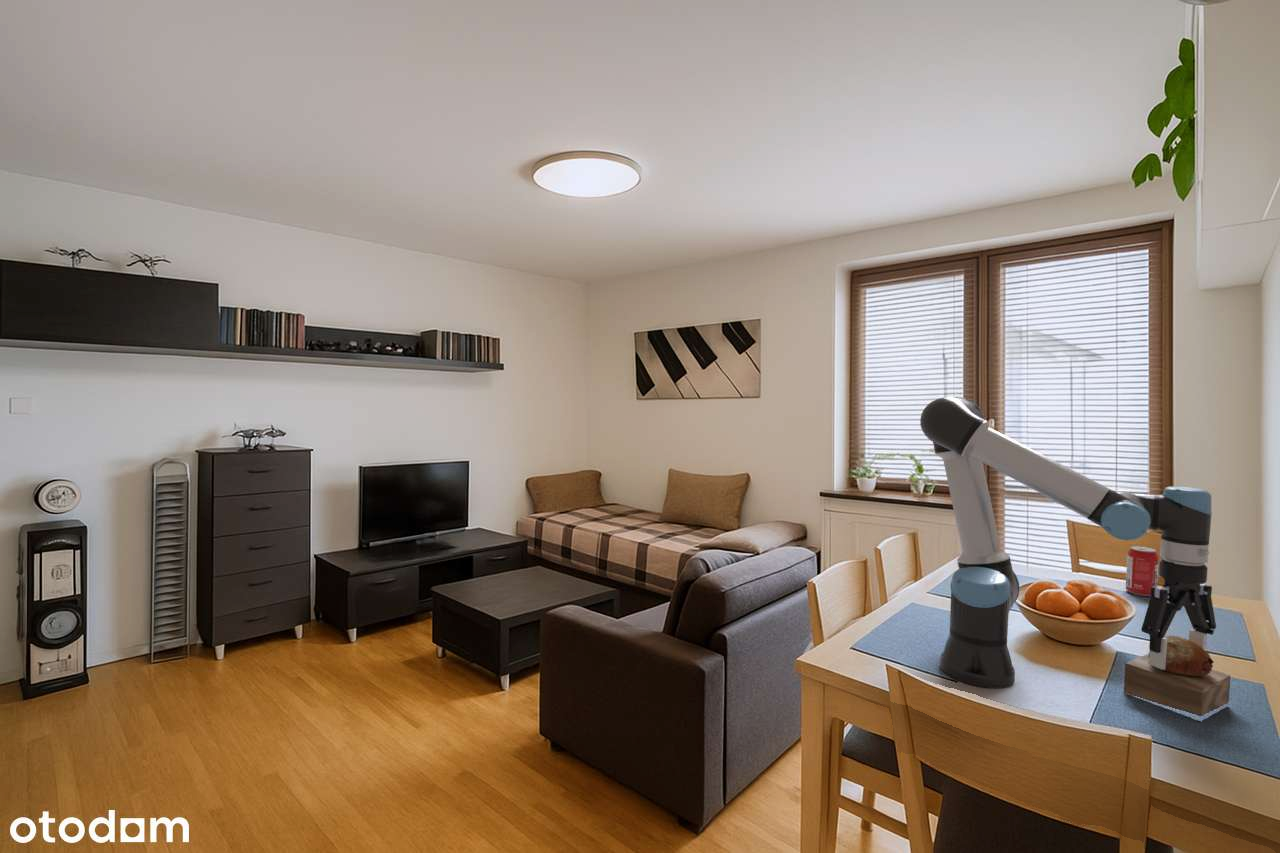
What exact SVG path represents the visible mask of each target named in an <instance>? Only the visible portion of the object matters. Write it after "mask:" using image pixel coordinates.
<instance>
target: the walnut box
mask: <svg viewBox="0 0 1280 853" xmlns="http://www.w3.org/2000/svg"><path fill="white" fill-rule="evenodd" d="M1148 655H1149V653H1147V654H1144V655H1142V656H1140V657H1136V658H1133V659H1132V660H1130V661H1127V662H1125V664H1124V678H1123V694H1124V693H1127V694H1130V695H1133V696H1137V697H1140V698H1143V699H1146V700H1149V701H1152V702H1156V703H1158V704H1162V705H1165V706H1169V707H1172V708H1175V709H1179V710H1183V711H1186V712H1189V713H1192V714H1196V715H1198V716H1203V715H1204V714H1206V713H1209V712H1210V711H1213V710H1214V709H1217V708H1219V707H1220V706H1223V705H1224V704H1227V703H1228V702H1229V701H1230V688H1231V677H1232V676H1231V674H1227V673H1224V672H1222V671H1218V670H1215V669H1212V670H1211V671H1210V673H1209V674H1207V675H1205V676H1191V675H1185V674H1179V673H1174V672H1171V671H1168V670H1165V669H1164V670H1162V669H1160V668H1157V667H1155V666H1153V665H1150V664H1149V657H1148ZM1127 694H1126V695H1127ZM1229 703H1230V702H1229Z"/></svg>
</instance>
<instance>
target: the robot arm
mask: <svg viewBox="0 0 1280 853" xmlns="http://www.w3.org/2000/svg"><path fill="white" fill-rule="evenodd" d="M919 425H920V428H921V430H922V433H923V434H924V436H925V437H926V438H927V439H928V440H929V441H931V442H932V444H933V449H934V452H935V455H936V456H937V457H939V458H941V459H942V461H943V465H944V470H945V474H946V479H947V484H948V485H947V486H948V490H949V495H950V500H951V503H952V509H953V513H954V518H955V524H956V528H957V532H958V539H959V543H960V548H961V554H960V555H959V556H958V558H957V560H956V561H957V566H958V569H957V570H955V571H954V572H953V574H952V577H951V581H950V590H951V591H950V612H949V613H950V614H949V635H948V638H947V640H946V643H945V646H944V649H943V651H942V652H941V654H940V657H939V659H940V660H939V667H940V670H942V672H943V673H944V674H946V675H947V676H949V677H951V679H955V680H957V681H959V682H962V683H965V684H968V685H971V686H976V687H980V688H981V687H982V688H986V689H987V688H988V689H1001V688H1007V687H1011V686H1012V685H1014V683H1015V680H1016V679H1015V677H1016V676H1015V675H1016V670H1015V667H1014V665H1013V662H1012V658H1011V655H1010V651H1009V648H1008V634H1009V631H1008V629H1009V615H1010V611H1011V610H1012V607H1013V606H1014V604H1015V603H1016V602H1017V600H1018V598H1019V594H1020V593H1019V592H1020V582H1019V579H1018V577H1017V575H1016V573H1015V571H1014V570H1013V565H1012V561H1011V557H1010V555H1009V554H1008V553H1006V552H1005V551H1003V549H1002V548H1001V543H1000V537H999V534H998V528H997V524H996V520H995V514H994V509H993V505H992V501H991V495H990V491H989V487H988V482H987V477H986V473H985V466H984V464H985V465H987V466H989V467H991V468H992V469H994V470H997V471H998V472H999V473H1002V474H1003V475H1005V476H1007V477H1009V478H1011V479H1013V480H1014V481H1017V482H1019V483H1021V484H1022V485H1024V486H1026V487H1027V488H1030V489H1032V490H1034V491H1035V492H1037V493H1039V494H1041V495H1043V496H1044V497H1046V498H1048V499H1050V500H1052V501H1053V502H1056V503H1058V504H1059V505H1061V506H1063V507H1064V508H1067V509H1069V510H1071V511H1072V512H1075V513H1076V514H1078V515H1080V516H1082V517H1083V518H1085V519H1087V520H1089V521H1090V522H1092V523H1094V524H1096V525H1098V526H1099V527H1101V528H1102V529H1104V530H1105V532H1106V533H1108V534H1109V535H1110V536H1112V537H1113V538H1115V539H1118V540H1121V541H1123V540H1124V541H1133V540H1137V539H1139V538H1140V539H1141V537H1143V536H1144V535H1146V534H1147V532H1148V531H1149V530H1153V531H1161V536H1160V546H1159V548H1160V549H1159V556H1160V557H1161V559H1159V562H1158V575H1159V576H1160V577H1161V578H1162V579H1163V580H1164V582H1163V585H1162V587H1159V586H1157V587H1154V586H1153V587H1152V588H1151V596H1150V598H1149V602H1148V606H1147V609H1146V611H1145V614H1144V615H1145V616H1144V619H1143V623H1142V626H1141V629H1140V630H1141V632H1142V633H1145V634H1147V635H1149V648H1148V649H1149V651H1150V655H1149V664H1150V665H1153V666H1155V667H1157V668H1160V669H1162V670H1164V669H1166V653H1167V638H1164V636H1166V634H1167V631H1168V630H1169V629H1170V625H1171V624H1172V622H1173V619H1174V618H1175V616H1176V614H1177V612H1180V611H1181V610H1182V608H1183V607H1184V609H1185V612H1186V614H1187V618H1188V619H1189V622H1190V624H1191V627H1192V628H1193V629H1189V631H1188V632H1189V633H1188V640H1189V641H1192V642H1193V643H1195V644H1197V645H1199V646H1200V647H1201V648H1203V649H1204V650H1205V651H1206V646H1207V638H1208V637H1207V636H1208V635H1211V636H1212V635H1213V634H1214V633H1215V630H1216V628H1217V624H1216V617H1215V612H1214V606H1213V600H1212V592H1213V588H1212V586H1211V585H1208V584H1206V583H1207V580H1208V566H1207V563H1208V561H1209V560H1208V559H1209V554H1210V552H1209V544H1210V536H1211V527H1212V526H1211V524H1212V515H1213V514H1212V494H1211V493H1209V492H1208V490H1206V489H1203V488H1198V487H1197V488H1195V487H1188V486H1166V487H1165V488H1164V489H1163V492H1162V494H1148V493H1147V494H1146V493H1135V492H1127V491H1117V490H1114V489H1110V488H1109V487H1107V486H1105V485H1102V484H1101V483H1099V482H1097V481H1095V480H1093V479H1091V478H1089V477H1087V476H1085V475H1083V474H1081V473H1079V472H1077V471H1075V470H1073V469H1072V468H1070V467H1068V466H1066V465H1063V464H1061V463H1060V462H1058V461H1055V460H1054V459H1052V458H1050V457H1048V456H1046V455H1044V454H1042V453H1041V452H1038V451H1036V450H1034V449H1032V448H1030V447H1029V446H1027V445H1025V444H1022V443H1021V442H1018V441H1017V440H1014V439H1012V437H1011V438H1010V437H1009V436H1006V435H1005V434H1003V433H1001V432H999V431H997V430H995V429H993V428H991V427H990V425H989V422H988V420H985V417H984V414H983V412H982V410H981V408H980V407H979V406H978V405H977V403H975V402H973V401H972V400H970V399H968V398H965V397H962V396H954V397H951V396H950V397H941V398H940V397H939V398H936V399H934V400H932V401H931V402H929V403H928V404H927V405H926V406H925V407H924V409H923V410H922V412H921V415H920V424H919ZM1207 634H1208V635H1207Z"/></svg>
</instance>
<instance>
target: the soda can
mask: <svg viewBox="0 0 1280 853" xmlns="http://www.w3.org/2000/svg"><path fill="white" fill-rule="evenodd" d="M1126 554H1127V556H1126V573H1125V574H1126V575H1125V590H1126V591H1127V592H1129V594H1133V595H1136V596H1138V597H1139V596H1140V597H1151V588H1152V587H1153V586H1154V587H1158V578H1159V577H1158V575H1159V561H1160V559H1159V556H1160V555H1158V553H1157V550H1156V549H1155V548H1151V547H1147V546H1134V545H1133V546H1130V548H1129V550H1127V553H1126Z"/></svg>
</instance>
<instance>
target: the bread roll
mask: <svg viewBox="0 0 1280 853" xmlns="http://www.w3.org/2000/svg"><path fill="white" fill-rule="evenodd" d="M1164 638H1167V653H1166V669H1165V670H1168V671H1171V672H1174V673H1179V674H1185V675H1191V676H1205V675H1207V674H1209V673H1210V671H1211V670H1213V667H1214V665H1213V664H1214V660H1213V659H1212V657H1211V655H1210V654H1209V652H1208V651H1206V649H1205V650H1204V649H1203V648H1201V647H1200V646H1199V645H1197V644H1195V643H1193V642H1192V641H1189V639H1187V638H1184V637H1180V636H1178V635H1172V634H1171V635H1165V636H1164ZM1148 654H1149V655H1150V650H1149V651H1148ZM1149 655H1148V657H1149Z"/></svg>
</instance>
